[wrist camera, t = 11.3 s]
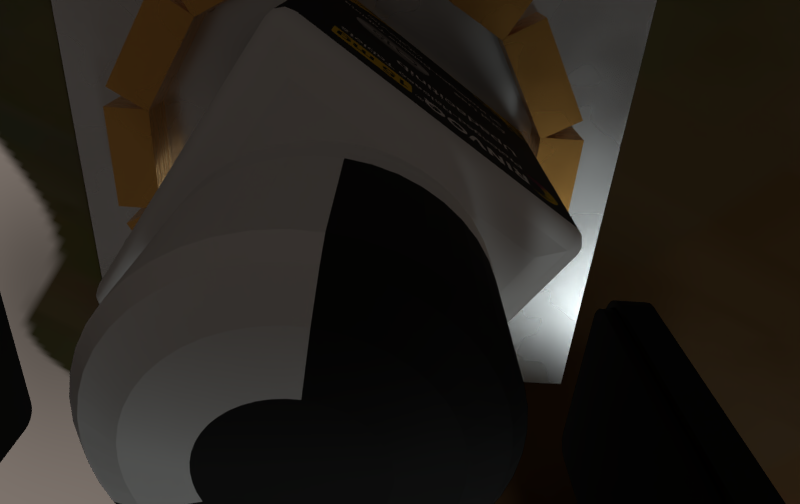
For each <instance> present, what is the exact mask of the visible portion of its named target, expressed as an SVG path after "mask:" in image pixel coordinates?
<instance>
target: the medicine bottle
mask: <svg viewBox="0 0 800 504" xmlns="http://www.w3.org/2000/svg"><path fill="white" fill-rule="evenodd" d="M581 248H582V234H581V233H580V231H579V229H578V228H577V226H576V224H575V223H574V221H573V219H572V218H571V216H570V214H569V212H568V211H567V209H566V207H565V206H564V204H563V202H562V201H561V199H560V197H559V196H558V194H557V192H556V191H555V189H554V187H553V186H552V184H551V182H550V181H549V179H548V177H547V175H546V174H545V172H544V170H543V169H542V167H541V165H540V164H539V162H538V160H537V159H536V157H535V155H534V154H533V152H532V150H531V149H530V147H529V145H528V144H527V142H526V140H525V138H524V137H523V135H522V134H521V132H520V131H519V130H518V129H516V128H515V127H514V126H513V125H511V124H510V123H509V122H508V121H506V120H505V119H504V118H503V117H501V116H500V115H499V114H498V113H497V112H495V111H494V110H493V109H492V108H490V107H489V106H488V105H487V104H485V103H484V102H483V101H482V100H480V99H479V98H478V97H477V96H475V95H474V94H473V93H472V92H470V91H469V90H468V89H467V88H465V87H464V86H463V85H462V84H460V83H459V82H458V81H457V80H456V79H454V78H453V77H452V76H451V75H449V74H448V73H447V72H446V71H444V70H443V69H442V68H441V67H439V66H438V65H437V64H436V63H434V62H433V61H432V60H431V59H429V58H428V57H427V56H426V55H424V54H423V53H422V52H421V51H419V50H418V49H417V48H416V47H414V46H413V45H412V44H411V43H410V42H408V41H407V40H406V39H405V38H403V37H402V36H401V35H400V34H398V33H397V32H396V31H395V30H393V29H392V28H391V27H390V26H388V25H387V24H386V23H385V22H383V21H382V20H381V19H380V18H378V17H377V16H376V15H375V14H373V13H372V12H371V11H370V10H369V9H367V8H366V7H365V6H364V5H362V4H361V3H360V2H359V1H357V0H287V1H285V2H283V3H282V4H280V5H278V6H277V7H275V8H273V9H272V10H271V11H270V12H269V13H268V14H267V15H265V17H264V18H263V20H262V21H261V23H260V25H259V26H258V28H257V30H256V31H255V33H254V34H253V36H252V38H251V39H250V41H249V42H248V44H247V46H246V47H245V49H244V51H243V52H242V54H241V55H240V57H239V59H238V60H237V62H236V63H235V65H234V67H233V68H232V70H231V72H230V73H229V75H228V76H227V78H226V80H225V81H224V83H223V84H222V86H221V88H220V89H219V91H218V93H217V94H216V96H215V97H214V99H213V101H212V102H211V104H210V105H209V107H208V109H207V110H206V112H205V114H204V115H203V117H202V118H201V120H200V122H199V123H198V125H197V126H196V128H195V130H194V131H193V133H192V135H191V136H190V138H189V139H188V141H187V143H186V144H185V146H184V147H183V149H182V151H181V152H180V154H179V156H178V157H177V159H176V160H175V162H174V164H173V165H172V167H171V169H170V170H169V172H168V173H167V175H166V177H165V178H164V180H163V181H162V183H161V185H160V186H159V188H158V190H157V191H156V193H155V194H154V196H153V198H152V199H151V201H150V202H149V204H148V206H147V207H146V209H145V211H144V212H143V214H142V215H141V217H140V219H139V220H138V222H137V223H136V225H135V227H134V228H133V230H132V232H131V233H130V235H129V236H128V238H127V240H126V241H125V243H124V244H123V246H122V248H121V249H120V251H119V253H118V254H117V256H116V257H115V259H114V261H113V262H112V264H111V265H110V267H109V269H108V270H107V272H106V274H105V275H104V277H103V278H102V280H101V282H100V283H99V286H98V290H97V295H96V297H97V299H98V302H99V304H100V305H99V306H98V307H97V309H96V310H95V312H94V313H93V315H92V316H91V318H90V319H89V320H88V322H87V323H86V325H85V328H84V330H83V332H82V334H81V337H80V339H79V341H78V343H77V346H76V348H75V352H74V357H73V361H72V366H71V370H70V393H69V394H70V395H69V397H70V404H71V410H72V416H73V422H74V425H75V428H76V431H77V434H78V436H79V439H80V442H81V445H82V447H83V450H84V453H85V455H86V458H87V460H88V462H89V464H90V466H91V468H92V470H93V472H94V473H95V475H96V477H97V479H98V481H99V483H100V484H101V485H102V487H103V488H104V489H105V490H106V492H107V493H108V494H109V496H110V497H111V499H112V500H113V501H114V502H115V503H116V504H494V503H495V502H496V500H497V499H498V498H499V497H500V496H501V495H502V493H503V491H504V490H505V488H506V486H507V485H508V483H509V482H510V480H511V478H512V477H513V475H514V473H515V470H516V468H517V465H518V463H519V460H520V458H521V455H522V452H523V448H524V443H525V438H526V433H527V412H528V406H527V400H526V394H525V388H524V382H523V378H522V374H521V371H520V367H519V363H518V360H517V356H516V352H515V348H514V345H513V341H512V337H511V334H510V330H509V326H508V322H509V321H510V320H511V319H512V318H513V317H514V316H515V315H516V314H517V313H518V312H519V311H520V310H521V309H522V308H523V307H524V306H526V305H527V304H528V303H529V302H530V301H531V300H532V299H533V298H534V297H535V296H536V295H537V294H538V293H539V292H540V291H541V290H542V289H543V288H544V287H545V286H546V285H547V284H548V283H549V282H550V281H551V280H552V279H553V278H554V277H555V276H556V275H557V274H558V273H559V272H560V271H561V270H562V269H563V268H564V267H565V266H566V265H568V264H569V263H570V262H571V261H572V260H573V259H574V258H575V257H576V256H577V255H578V253H579V251H580V250H581Z"/></svg>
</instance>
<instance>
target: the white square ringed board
mask: <svg viewBox="0 0 800 504" xmlns="http://www.w3.org/2000/svg"><path fill="white" fill-rule="evenodd" d="M285 1H287V0H51V3H52V8H53V14H54V19H55V25H56V30H57V35H58V41H59V46H60V52H61V57H62V63H63V68H64V73H65V79H66V84H67V90H68V95H69V101H70V106H71V111H72V117H73V122H74V128H75V133H76V139H77V144H78V149H79V155H80V160H81V166H82V171H83V177H84V182H85V188H86V193H87V198H88V204H89V209H90V215H91V220H92V226H93V231H94V236H95V242H96V247H97V253H98V258H99V264H100V269H101V274H102V278H103V277H104V275H105V274H106V272H107V270H108V269H109V267H110V265H111V264H112V262H113V261H114V259H115V257H116V256H117V254H118V253H119V251H120V249H121V248H122V246H123V244H124V243H125V241H126V240H127V238H128V236H129V235H130V233H131V232H132V230H133V228H134V227H135V225H136V223H137V222H138V220H139V219H140V217H141V215H142V214H143V212H144V211H145V209H146V207H147V206H148V204H149V202H150V201H151V199H152V198H153V196H154V194H155V193H156V191H157V190H158V188H159V186H160V185H161V183H162V181H163V180H164V178H165V177H166V175H167V173H168V172H169V170H170V169H171V167H172V165H173V164H174V162H175V160H176V159H177V157H178V156H179V154H180V152H181V151H182V149H183V147H184V146H185V144H186V143H187V141H188V139H189V138H190V136H191V135H192V133H193V131H194V130H195V128H196V126H197V125H198V123H199V122H200V120H201V118H202V117H203V115H204V114H205V112H206V110H207V109H208V107H209V105H210V104H211V102H212V101H213V99H214V97H215V96H216V94H217V93H218V91H219V89H220V88H221V86H222V84H223V83H224V81H225V80H226V78H227V76H228V75H229V73H230V72H231V70H232V68H233V67H234V65H235V63H236V62H237V60H238V59H239V57H240V55H241V54H242V52H243V51H244V49H245V47H246V46H247V44H248V42H249V41H250V39H251V38H252V36H253V34H254V33H255V31H256V30H257V28H258V26H259V25H260V23H261V21H262V20H263V18H264V17H265V15H267V14H268V13H269V12H270V11H271V10H272V9H273V8H275V7H277V6H278V5H280V4H282V3H283V2H285ZM357 1H359V2H360V3H361V4H362V5H364V6H365V7H366V8H367V9H369V10H370V11H371V12H372V13H373V14H375V15H376V16H377V17H378V18H380V19H381V20H382V21H383V22H385V23H386V24H387V25H388V26H390V27H391V28H392V29H393V30H395V31H396V32H397V33H398V34H400V35H401V36H402V37H403V38H405V39H406V40H407V41H408V42H410V43H411V44H412V45H413V46H414V47H416V48H417V49H418V50H419V51H421V52H422V53H423V54H424V55H426V56H427V57H428V58H429V59H431V60H432V61H433V62H434V63H436V64H437V65H438V66H439V67H441V68H442V69H443V70H444V71H446V72H447V73H448V74H449V75H451V76H452V77H453V78H454V79H456V80H457V81H458V82H459V83H460V84H462V85H463V86H464V87H465V88H467V89H468V90H469V91H470V92H472V93H473V94H474V95H475V96H477V97H478V98H479V99H480V100H482V101H483V102H484V103H485V104H487V105H488V106H489V107H490V108H492V109H493V110H494V111H495V112H497V113H498V114H499V115H500V116H501V117H503V118H504V119H505V120H506V121H508V122H509V123H510V124H511V125H513V126H514V127H515V128H516V129H518V130H519V131H520V132H521V134H522V135H523V137H524V138H525V140H526V142H527V144H528V145H529V147H530V149H531V150H532V152H533V154H534V155H535V157H536V159H537V160H538V162H539V164H540V165H541V167H542V169H543V170H544V172H545V174H546V175H547V177H548V179H549V181H550V182H551V184H552V186H553V187H554V189H555V191H556V192H557V194H558V196H559V197H560V199H561V201H562V202H563V204H564V206H565V207H566V209H567V211H568V212H569V214H570V216H571V218H572V219H573V221H574V223H575V224H576V226H577V228H578V229H579V231H580V233H581V234H582V248H581V250H580V251H579V253H578V255H577V256H576V257H575V258H574V259H573V260H572V261H571V262H570V263H569V264H568V265H566V266H565V267H564V268H563V269H562V270H561V271H560V272H559V273H558V274H557V275H556V276H555V277H554V278H553V279H552V280H551V281H550V282H549V283H548V284H547V285H546V286H545V287H544V288H543V289H542V290H541V291H540V292H539V293H538V294H537V295H536V296H535V297H534V298H533V299H532V300H531V301H530V302H529V303H528V304H527V305H526V306H524V307H523V308H522V309H521V310H520V311H519V312H518V313H517V314H516V315H515V316H514V317H513V318H512V319H511V320H510V321H509V322H508V326H509V330H510V334H511V337H512V341H513V345H514V348H515V352H516V356H517V360H518V363H519V367H520V371H521V374H522V378H523V382H533V383H550V384H561V381H562V377H563V373H564V369H565V365H566V361H567V357H568V353H569V349H570V345H571V341H572V337H573V333H574V329H575V325H576V321H577V317H578V313H579V309H580V305H581V301H582V297H583V293H584V289H585V285H586V281H587V277H588V273H589V269H590V265H591V261H592V257H593V253H594V249H595V245H596V241H597V237H598V233H599V229H600V225H601V221H602V217H603V213H604V209H605V205H606V201H607V197H608V193H609V189H610V185H611V181H612V177H613V173H614V169H615V165H616V161H617V157H618V153H619V149H620V145H621V141H622V137H623V133H624V129H625V125H626V121H627V117H628V113H629V109H630V105H631V101H632V97H633V93H634V89H635V85H636V81H637V77H638V73H639V69H640V65H641V61H642V57H643V53H644V49H645V45H646V41H647V37H648V33H649V29H650V25H651V21H652V17H653V13H654V9H655V5H656V1H657V0H357Z"/></svg>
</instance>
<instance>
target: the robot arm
mask: <svg viewBox="0 0 800 504" xmlns="http://www.w3.org/2000/svg"><path fill="white" fill-rule="evenodd" d="M31 412H32V406H31V401H30V397H29V394H28V390H27V387H26V383H25V379H24V376H23V372H22V369H21V365H20V361H19V358H18V355H17V351H16V347H15V344H14V340H13V337H12V333H11V329H10V326H9V322H8V319H7V315H6V311H5V308H4V304H3V301H2V297H1V293H0V462H1V461H2V459H3V458H4V457H5V456H6V454H7V453H8V452H9V450H10V449H11V448H12V446H13V445H14V444H15V442H16V440H18V438H19V437H20V436H21V434H22V433H23V432H24V430H25V429H26V427H27V426H28V423H29V421H30V418H31ZM562 451H563V457H564V461H565V464H566V467H567V470H568V474H569V477H570V480H571V483H572V487H573V490H574V493H575V496H576V500H577V503H578V504H785V502H784V501H783V499H782V498H781V496H780V495H779V493H778V492H777V490H776V489H775V487H774V486H773V484H772V483H771V481H770V480H769V478H768V477H767V475H766V474H765V472H764V471H763V469H762V468H761V466H760V465H759V463H758V462H757V460H756V459H755V457H754V456H753V454H752V453H751V451H750V450H749V448H748V447H747V445H746V444H745V443H744V441H743V440H742V438H741V437H740V435H739V434H738V432H737V431H736V429H735V428H734V426H733V425H732V423H731V422H730V420H729V419H728V417H727V416H726V414H725V413H724V411H723V410H722V408H721V407H720V405H719V404H718V402H717V401H716V399H715V398H714V396H713V395H712V393H711V392H710V390H709V389H708V387H707V386H706V384H705V383H704V381H703V380H702V378H701V377H700V375H699V374H698V372H697V371H696V369H695V368H694V367H693V365H692V364H691V362H690V361H689V359H688V358H687V356H686V355H685V353H684V352H683V350H682V349H681V347H680V346H679V344H678V343H677V341H676V340H675V338H674V337H673V335H672V334H671V332H670V331H669V329H668V328H667V326H666V325H665V323H664V322H663V320H662V319H661V317H660V316H659V314H658V313H657V311H656V310H655V308H654V307H653V306H652V305H651V304H650V303H645V302H629V301H611V302H610V303H609V304H608V306H607V308H606V309H599V310H597V312H596V313H595V316H594V319H593V323H592V327H591V331H590V334H589V338H588V342H587V346H586V349H585V353H584V357H583V361H582V364H581V368H580V372H579V376H578V379H577V383H576V387H575V391H574V395H573V398H572V402H571V406H570V410H569V413H568V417H567V421H566V425H565V428H564V432H563V437H562Z"/></svg>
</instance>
